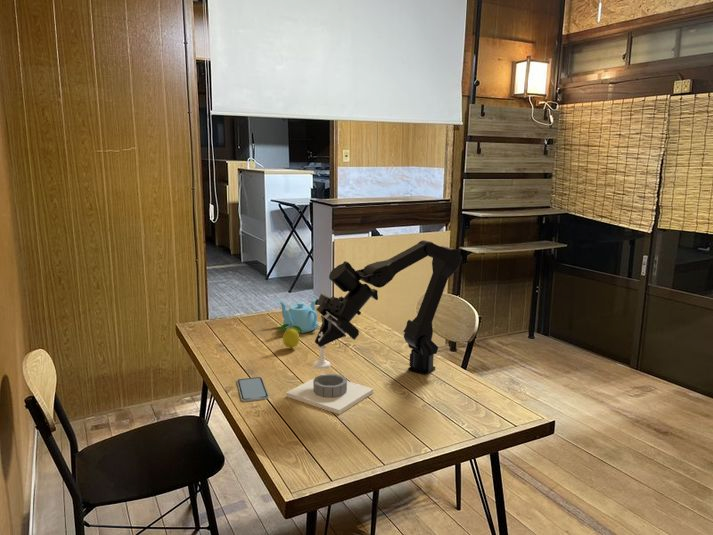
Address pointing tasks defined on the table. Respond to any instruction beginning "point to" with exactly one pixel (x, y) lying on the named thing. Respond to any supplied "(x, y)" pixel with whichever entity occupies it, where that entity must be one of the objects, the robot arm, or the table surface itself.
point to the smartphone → (252, 389)
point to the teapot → (300, 316)
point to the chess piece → (321, 358)
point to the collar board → (330, 402)
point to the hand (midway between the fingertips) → (317, 344)
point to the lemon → (291, 335)
